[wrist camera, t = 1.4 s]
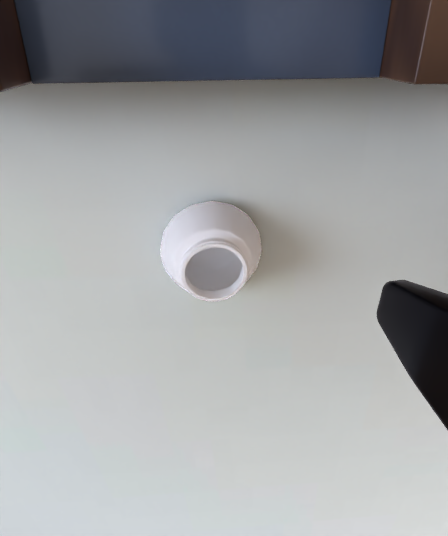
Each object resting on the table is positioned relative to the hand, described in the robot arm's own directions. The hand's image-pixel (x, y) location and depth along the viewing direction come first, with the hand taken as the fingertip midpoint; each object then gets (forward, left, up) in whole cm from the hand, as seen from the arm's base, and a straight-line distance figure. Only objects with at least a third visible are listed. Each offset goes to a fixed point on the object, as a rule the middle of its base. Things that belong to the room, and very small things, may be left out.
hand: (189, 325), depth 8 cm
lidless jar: (-4, -1, -12) cm, 13 cm away
